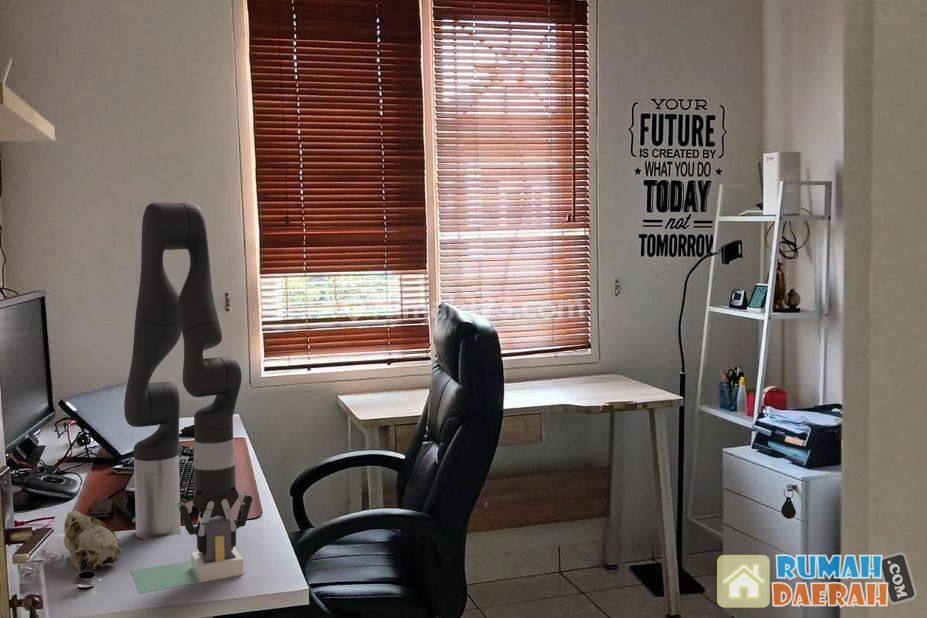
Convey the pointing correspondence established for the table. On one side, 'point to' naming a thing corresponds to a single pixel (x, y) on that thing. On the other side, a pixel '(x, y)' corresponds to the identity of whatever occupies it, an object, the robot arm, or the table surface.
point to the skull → (89, 541)
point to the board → (165, 577)
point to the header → (216, 567)
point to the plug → (218, 539)
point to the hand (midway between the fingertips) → (216, 551)
